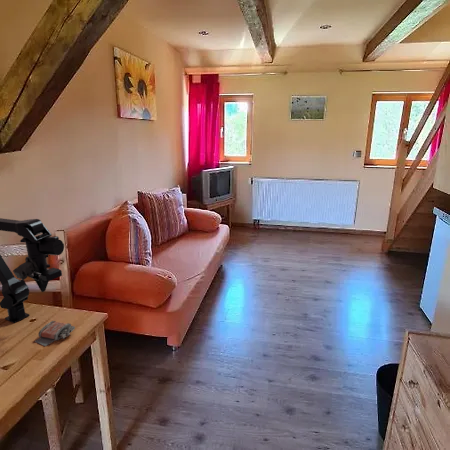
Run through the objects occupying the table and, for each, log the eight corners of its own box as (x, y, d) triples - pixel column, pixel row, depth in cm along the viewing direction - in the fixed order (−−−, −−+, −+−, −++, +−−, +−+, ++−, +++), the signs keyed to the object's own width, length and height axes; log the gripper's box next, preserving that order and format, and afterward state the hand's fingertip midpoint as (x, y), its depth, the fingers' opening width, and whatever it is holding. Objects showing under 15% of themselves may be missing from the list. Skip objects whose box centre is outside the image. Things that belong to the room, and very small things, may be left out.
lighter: (39, 339, 123) (62, 343, 120) (37, 331, 122) (60, 335, 119) (55, 326, 130) (77, 330, 127) (53, 318, 129) (76, 322, 126)
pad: (34, 341, 121) (34, 341, 121) (59, 327, 130) (59, 327, 130) (45, 346, 119) (45, 345, 119) (70, 332, 127) (69, 331, 127)
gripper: (0, 256, 125) (8, 295, 129) (30, 264, 116) (38, 306, 120) (29, 247, 134) (36, 283, 138) (59, 254, 125) (66, 293, 129)
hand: (43, 291), depth 131 cm, fingers closed
